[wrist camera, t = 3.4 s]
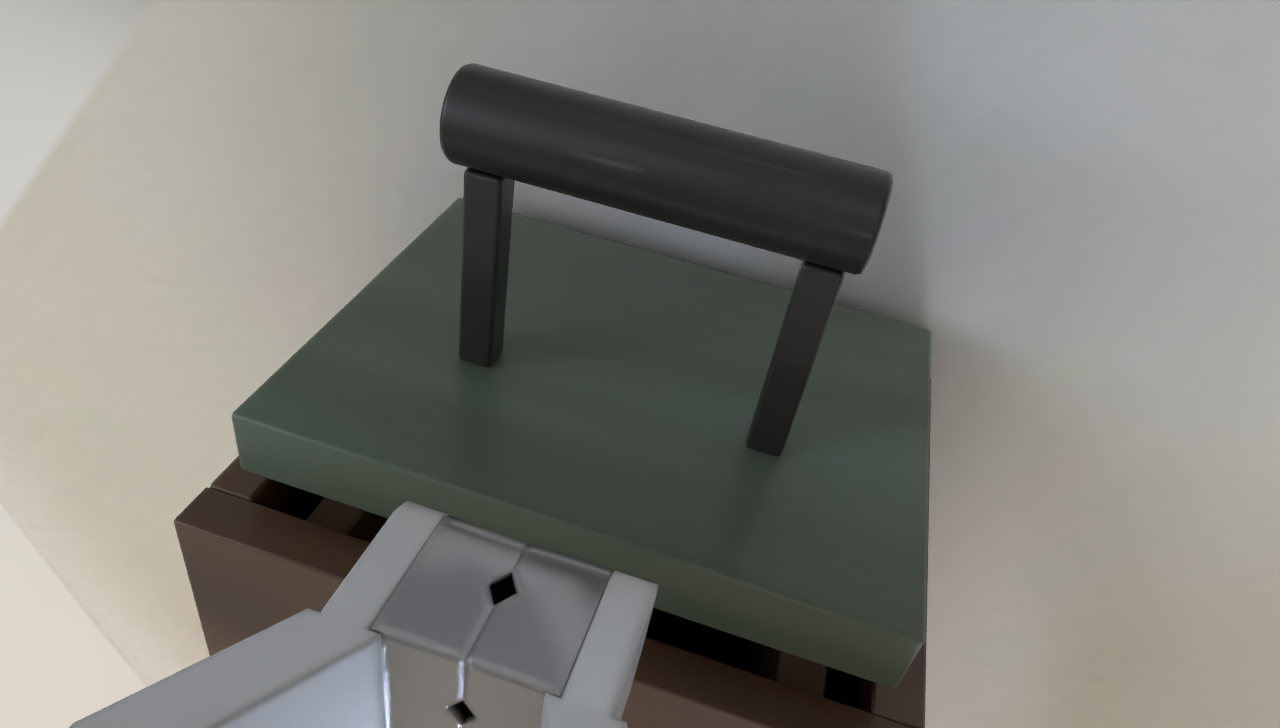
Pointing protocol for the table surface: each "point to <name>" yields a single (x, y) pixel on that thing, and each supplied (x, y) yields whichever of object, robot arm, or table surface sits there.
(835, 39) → the table surface
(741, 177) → the green drawer
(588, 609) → the robot arm
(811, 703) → the cabinet
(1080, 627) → the table surface
